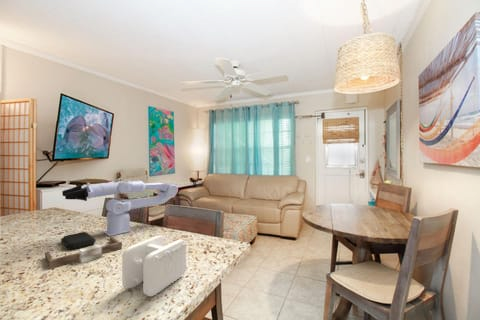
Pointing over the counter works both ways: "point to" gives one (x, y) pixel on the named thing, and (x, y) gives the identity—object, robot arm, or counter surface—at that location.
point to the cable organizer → (153, 264)
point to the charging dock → (84, 254)
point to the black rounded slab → (77, 241)
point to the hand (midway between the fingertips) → (63, 195)
